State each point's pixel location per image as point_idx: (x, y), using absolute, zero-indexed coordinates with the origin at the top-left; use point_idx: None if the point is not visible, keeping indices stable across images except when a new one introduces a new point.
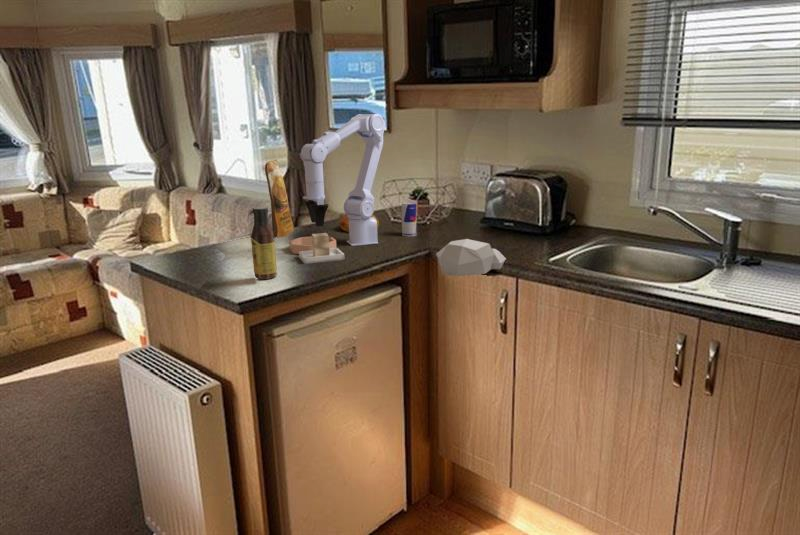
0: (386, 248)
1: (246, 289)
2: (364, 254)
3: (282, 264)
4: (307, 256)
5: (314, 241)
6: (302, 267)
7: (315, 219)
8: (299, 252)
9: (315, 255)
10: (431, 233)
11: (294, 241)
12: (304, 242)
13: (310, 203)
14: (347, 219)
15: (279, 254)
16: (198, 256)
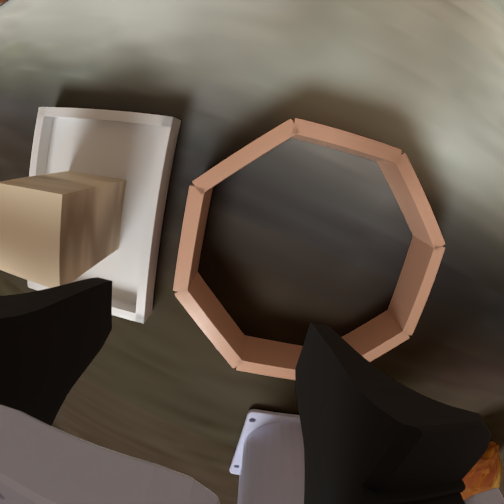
0: (151, 454)
1: None
2: (93, 373)
3: (102, 25)
4: (128, 150)
5: (21, 179)
6: (20, 93)
7: (53, 288)
8: (150, 114)
9: (61, 172)
10: None
11: (402, 183)
12: (417, 254)
13: (358, 472)
14: (464, 478)
15: (310, 59)
16: None
